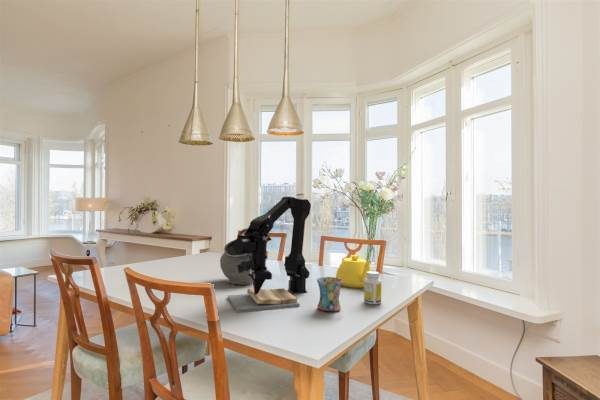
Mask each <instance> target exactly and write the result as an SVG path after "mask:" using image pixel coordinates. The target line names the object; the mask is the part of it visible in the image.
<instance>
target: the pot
mask: <svg viewBox="0 0 600 400" xmlns="http://www.w3.org/2000/svg"><path fill="white" fill-rule="evenodd" d="M247 229H248V227H247V228H243V229H242V230H240V231H239V232H238V234H237V236H238V235H243V233H245V232H246V231H247ZM235 240H236V239H233V240H231V241H229V242H227V243H226V244H225V245H224V248H223V252H224V253H222V255H221V256H220V259H219V263H220V270H221V271H222V273H223V275H224V277H225V278H227V279H228V281H229V283H230V284H231V285H243V286H244V285H245V286H246V285H250V284H251V283H253V282H252V278H251V277H250V276H249V275H248V274H250V270H248V271H243V272H242V273H238V272H237V269H236V266H235V263H236V262H239V261H242V260H245V259H248V258H249V255H250V254H251V253H247V254H236V253H235V251H234V249H233V244H234V242H235Z"/></svg>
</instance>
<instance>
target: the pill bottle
mask: <svg viewBox="0 0 600 400" xmlns="http://www.w3.org/2000/svg"><path fill="white" fill-rule="evenodd" d="M379 276H380V272H378V271H373V270H372V271H368V272H367V278H366V279H365V280H364V287H363V291H364V292H363V296H364V297H363V300H364V301H363V302H365V303H366V304H370V305H379V304H382V280H381V279H380V278H379Z"/></svg>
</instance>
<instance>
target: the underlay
mask: <svg viewBox="0 0 600 400" xmlns="http://www.w3.org/2000/svg"><path fill="white" fill-rule="evenodd" d="M227 299H228V301H229V302H230V304H231V305H232V307H233V308H234V310H235V311H236V313H245V312H257V311H267V310H278V309H288V308H298V307H300V303H299V302H298V301H297V303H289V304H282V303H281V304H257V303H256V302H255V301H254V299H253V298H252V297H251V296H250V295H249V294H248V293H242V294H241V293H240V294H228V295H227Z"/></svg>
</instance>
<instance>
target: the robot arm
mask: <svg viewBox="0 0 600 400" xmlns="http://www.w3.org/2000/svg"><path fill="white" fill-rule="evenodd" d="M311 208H312V204H311V201H310V200H309V199H306V198H305V199H304V198H303V199H302V198H297V197H293V196H283V197H281V198H280V200H279V201H278V202H277V203H276V204H274V206H273V207H272V208H270V209H269V210H268V211H267V212H265V214H263V215H258V216H257V217H256V218H253V219H252V220H251V221H250V222H249V226H248V227H247V228H248V229H247V228H246V229H247V231H246V232H244V234H242V235H238V234H237V238H235V239H234V240H235V242H234V244H233V249H234V251H235V253H236V254H247V253H251V254H250V255H249V258H248V259H245V260H242V261H239V262H236V263H235V266H236V269H237V272H238V273H242V272H243V271H248V270H250V274H248V275H249V276H250V277H251V278H252V282H251V283H252V286H253V288H252V289H254V293H255V294H258V292H259V291H260V289H262V287H263V286H264V285H263V284H264V283H265V281H266V280H272V279H273V273H272V272H271V271H270V270H268V269H267V266H266V262H267V260H268V255H267V248H268V247H267V245H268V243H267V242H268V241H272V238H271V237H270V236H269V233H270V232H271V231H272V229H273V228H274V224H275V222H277V220H278V219H280V217H282V216H283V215H284V214H285V213H286V212H287V211H288V210H289V209H290V213H291V216H292V218H293V224H292V235H291V244H290V245H291V246H290V253H289V254H288V255H286V256H285V257H284V265H283V267H284V270H285V272H286V273H285V274H286V276H287V277H289V280H288V289H287V290H288V292H289V293H291V294H299V293H301V294H303V293H307V292H308V290H306V288H307V287H306V284H307V283H306V282H307V281H306V279H308V278H309V276H310V271H309V270H308V269H307V266H306V259H305V258H304V256H303V247H304V239H305V238H304V237H305V227H306V226H305V225H306V220H307V219H308V218H309V215H310V214H311V213H310V212H311Z"/></svg>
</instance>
